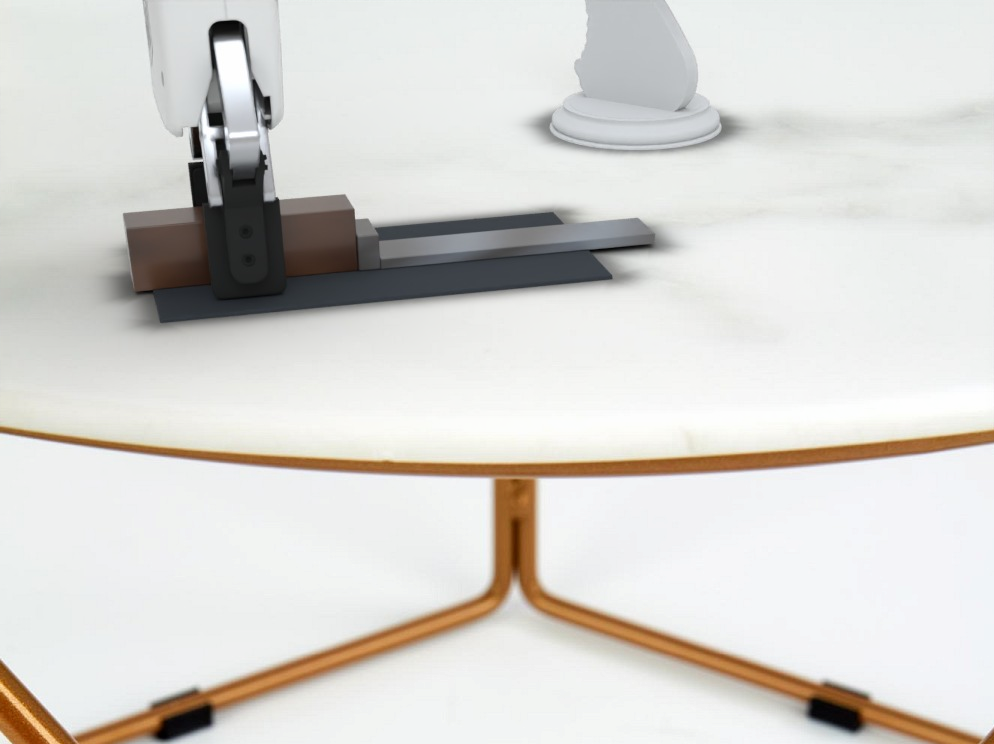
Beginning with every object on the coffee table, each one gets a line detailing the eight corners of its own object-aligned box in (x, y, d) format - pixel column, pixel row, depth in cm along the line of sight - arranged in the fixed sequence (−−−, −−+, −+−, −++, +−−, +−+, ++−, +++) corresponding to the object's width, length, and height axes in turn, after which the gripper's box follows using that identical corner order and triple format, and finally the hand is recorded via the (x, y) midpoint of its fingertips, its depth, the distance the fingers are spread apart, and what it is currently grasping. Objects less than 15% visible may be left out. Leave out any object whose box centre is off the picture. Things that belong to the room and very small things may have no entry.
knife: (134, 292, 75) (125, 229, 74) (130, 274, 77) (122, 212, 76) (655, 243, 80) (657, 183, 78) (638, 227, 82) (639, 168, 80)
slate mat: (161, 332, 73) (159, 318, 72) (144, 260, 81) (143, 247, 80) (612, 288, 77) (612, 275, 76) (553, 223, 85) (553, 211, 84)
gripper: (87, -200, 73) (143, 223, 83) (109, -155, 59) (173, 345, 69) (262, -207, 75) (296, 209, 85) (324, -165, 61) (356, 327, 71)
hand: (240, 266), depth 77 cm, fingers open, 5 cm apart
